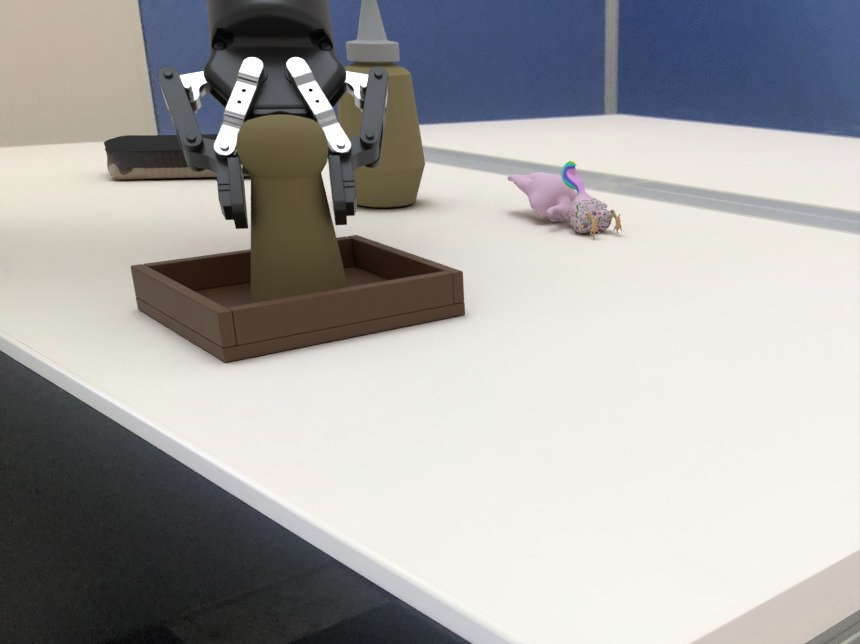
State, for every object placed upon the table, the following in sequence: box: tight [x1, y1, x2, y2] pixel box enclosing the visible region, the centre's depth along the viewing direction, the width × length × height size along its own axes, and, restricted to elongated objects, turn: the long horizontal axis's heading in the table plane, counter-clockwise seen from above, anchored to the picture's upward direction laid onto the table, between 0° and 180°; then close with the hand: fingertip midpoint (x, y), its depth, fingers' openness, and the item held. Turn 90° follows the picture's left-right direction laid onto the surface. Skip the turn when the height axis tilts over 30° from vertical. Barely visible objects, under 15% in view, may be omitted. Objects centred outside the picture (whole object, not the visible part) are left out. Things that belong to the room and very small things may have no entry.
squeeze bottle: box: [337, 0, 426, 209], centre depth 98 cm, size 8×8×18 cm
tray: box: [130, 234, 466, 363], centre depth 67 cm, size 16×14×3 cm
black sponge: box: [103, 133, 251, 180], centre depth 114 cm, size 16×8×4 cm, turn 104°
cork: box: [236, 115, 348, 303], centre depth 65 cm, size 6×6×11 cm
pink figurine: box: [507, 160, 624, 238], centre depth 94 cm, size 6×6×15 cm
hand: (291, 218), depth 63 cm, fingers closed on cork, 5 cm apart
